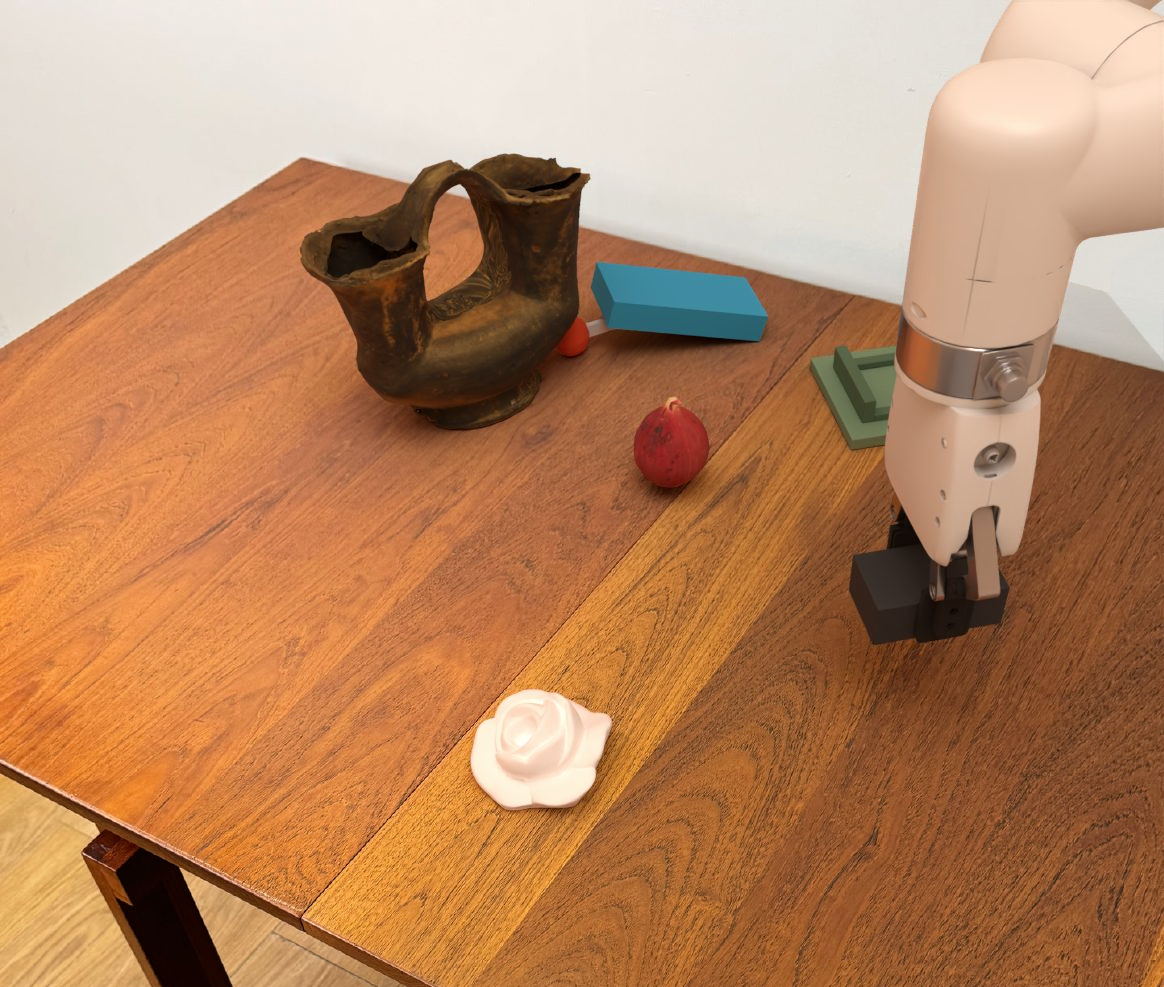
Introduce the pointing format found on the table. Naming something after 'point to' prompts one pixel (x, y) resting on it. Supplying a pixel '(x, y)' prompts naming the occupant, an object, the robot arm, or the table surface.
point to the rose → (539, 751)
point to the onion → (671, 445)
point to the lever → (668, 305)
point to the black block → (906, 592)
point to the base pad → (858, 391)
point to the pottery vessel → (460, 289)
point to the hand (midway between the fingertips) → (924, 601)
